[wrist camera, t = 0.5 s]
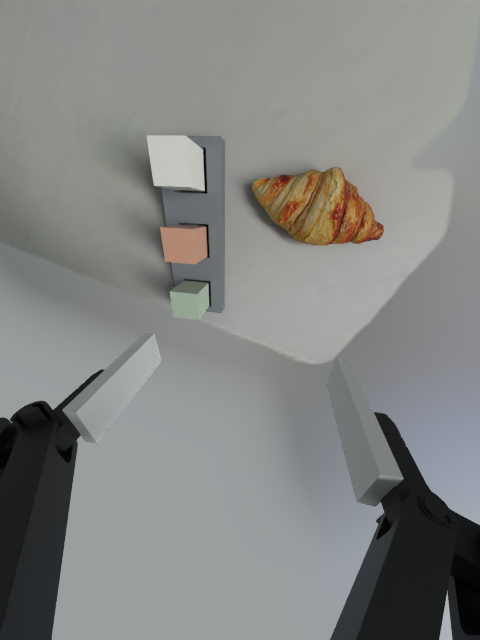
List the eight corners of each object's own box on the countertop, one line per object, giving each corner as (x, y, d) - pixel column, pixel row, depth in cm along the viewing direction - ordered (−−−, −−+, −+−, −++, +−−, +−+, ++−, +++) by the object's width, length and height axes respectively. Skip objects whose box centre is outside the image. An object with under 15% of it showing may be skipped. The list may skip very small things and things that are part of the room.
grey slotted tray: (163, 141, 30) (154, 136, 28) (224, 141, 29) (220, 136, 27) (182, 302, 44) (177, 307, 42) (224, 308, 43) (221, 313, 41)
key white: (170, 149, 28) (146, 135, 23) (203, 149, 28) (185, 135, 23) (174, 189, 31) (153, 185, 26) (204, 191, 30) (189, 187, 25)
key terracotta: (178, 224, 33) (160, 227, 28) (206, 226, 33) (192, 229, 28) (181, 254, 36) (165, 261, 31) (207, 256, 35) (195, 264, 30)
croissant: (250, 206, 36) (237, 230, 32) (266, 135, 27) (249, 156, 23) (359, 245, 35) (359, 275, 31) (409, 186, 27) (419, 216, 23)
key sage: (184, 280, 38) (169, 291, 33) (208, 282, 38) (197, 294, 33) (186, 303, 41) (173, 316, 36) (209, 306, 40) (198, 320, 35)
